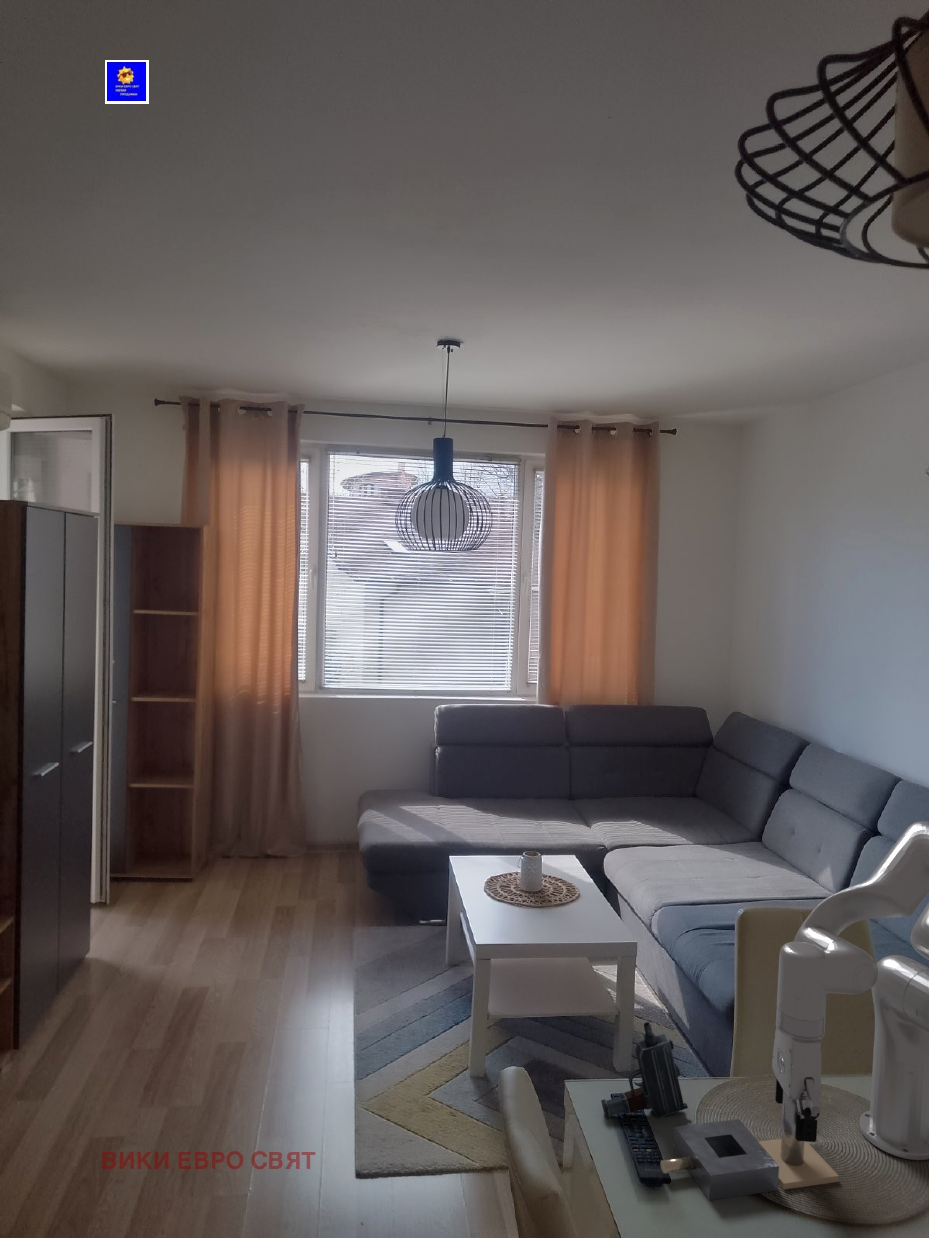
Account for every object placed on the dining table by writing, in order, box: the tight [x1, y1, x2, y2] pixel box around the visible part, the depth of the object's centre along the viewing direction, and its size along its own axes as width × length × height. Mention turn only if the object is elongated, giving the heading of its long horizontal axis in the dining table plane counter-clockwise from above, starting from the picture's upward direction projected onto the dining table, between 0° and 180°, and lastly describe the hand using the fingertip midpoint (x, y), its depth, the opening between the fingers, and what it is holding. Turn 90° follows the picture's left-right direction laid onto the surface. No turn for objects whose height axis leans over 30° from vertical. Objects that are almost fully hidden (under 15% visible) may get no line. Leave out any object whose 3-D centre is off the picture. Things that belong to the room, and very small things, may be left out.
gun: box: [600, 1021, 689, 1119], centre depth 154 cm, size 3×17×15 cm
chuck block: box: [659, 1118, 779, 1201], centre depth 140 cm, size 17×12×4 cm
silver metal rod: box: [780, 1090, 807, 1166], centre depth 142 cm, size 4×4×13 cm
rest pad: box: [758, 1138, 840, 1190], centre depth 143 cm, size 10×10×1 cm
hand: (795, 1120), depth 142 cm, fingers open, 9 cm apart
